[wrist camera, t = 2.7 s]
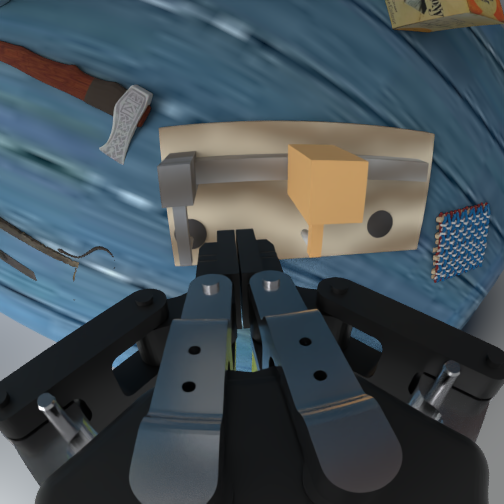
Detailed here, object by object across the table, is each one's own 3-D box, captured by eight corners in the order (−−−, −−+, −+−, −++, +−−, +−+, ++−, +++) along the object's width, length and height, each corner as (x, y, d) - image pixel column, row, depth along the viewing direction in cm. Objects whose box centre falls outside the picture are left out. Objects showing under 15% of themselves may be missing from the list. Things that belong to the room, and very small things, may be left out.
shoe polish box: (417, -6, 20) (490, -27, 9) (428, 32, 22) (506, 23, 12) (381, -11, 20) (451, -42, 10) (392, 29, 22) (469, 12, 12)
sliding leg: (285, 142, 25) (311, 160, 18) (329, 143, 26) (368, 161, 19) (284, 238, 30) (304, 285, 23) (323, 236, 30) (353, 280, 23)
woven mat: (427, 280, 38) (434, 288, 37) (432, 211, 33) (441, 217, 31) (476, 262, 38) (484, 268, 36) (485, 198, 33) (494, 203, 31)
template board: (161, 127, 26) (143, 135, 20) (428, 132, 28) (469, 144, 22) (176, 260, 32) (168, 299, 26) (411, 244, 35) (442, 274, 28)
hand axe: (-43, 105, 19) (-19, 27, 15) (-34, 102, 21) (-10, 27, 17) (119, 193, 28) (164, 102, 23) (125, 186, 29) (169, 100, 25)
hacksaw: (-38, 226, 27) (-44, 231, 26) (-27, 160, 24) (-34, 163, 22) (95, 314, 35) (92, 321, 34) (123, 255, 32) (119, 261, 31)
